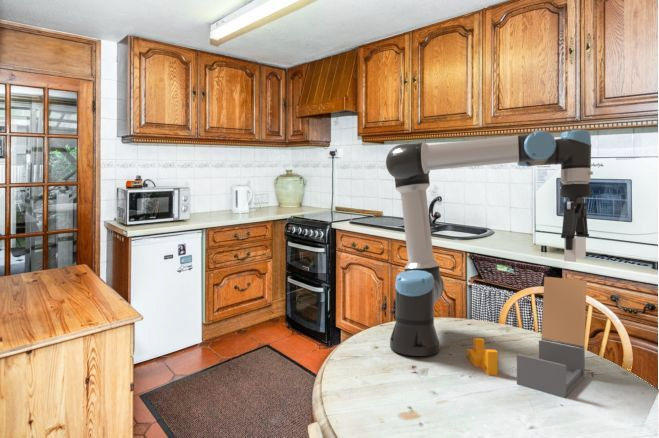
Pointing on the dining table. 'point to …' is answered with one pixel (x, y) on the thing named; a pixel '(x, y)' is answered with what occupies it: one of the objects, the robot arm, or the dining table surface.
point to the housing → (552, 369)
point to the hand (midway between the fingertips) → (575, 259)
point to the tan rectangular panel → (564, 311)
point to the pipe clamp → (483, 357)
